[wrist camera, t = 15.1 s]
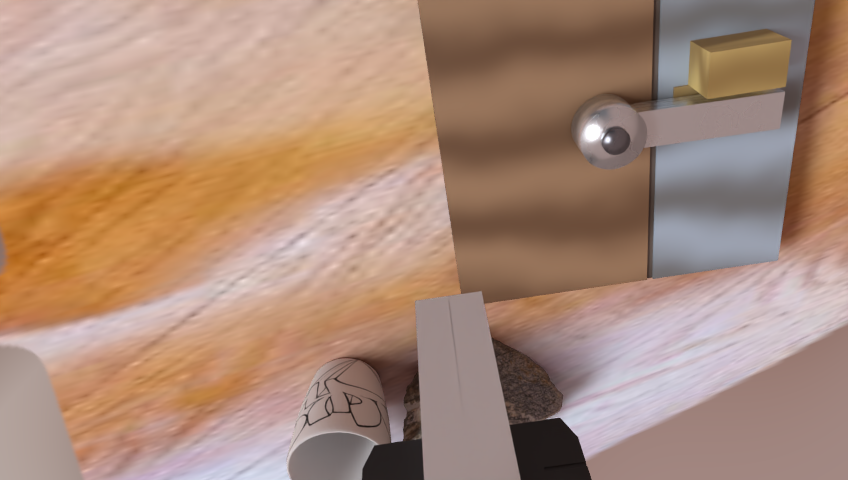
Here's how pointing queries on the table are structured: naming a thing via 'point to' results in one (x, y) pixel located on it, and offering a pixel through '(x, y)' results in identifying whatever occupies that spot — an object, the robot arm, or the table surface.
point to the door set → (563, 160)
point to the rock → (521, 388)
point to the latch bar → (667, 122)
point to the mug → (338, 423)
